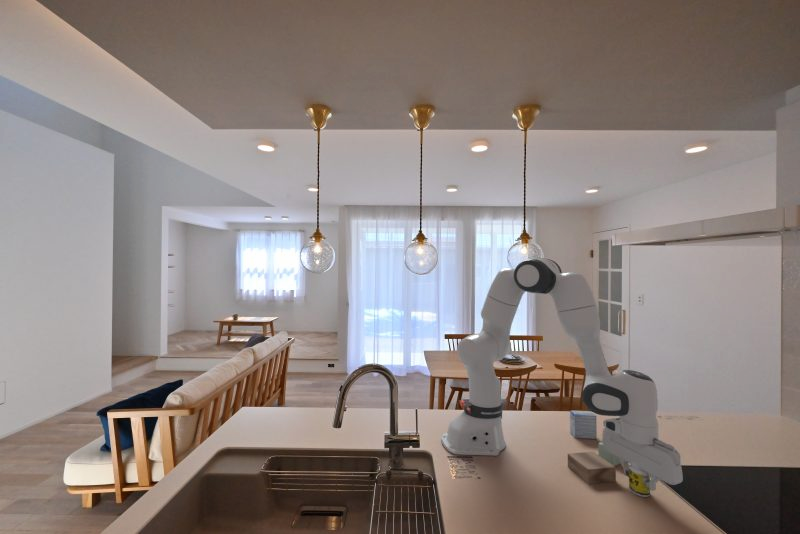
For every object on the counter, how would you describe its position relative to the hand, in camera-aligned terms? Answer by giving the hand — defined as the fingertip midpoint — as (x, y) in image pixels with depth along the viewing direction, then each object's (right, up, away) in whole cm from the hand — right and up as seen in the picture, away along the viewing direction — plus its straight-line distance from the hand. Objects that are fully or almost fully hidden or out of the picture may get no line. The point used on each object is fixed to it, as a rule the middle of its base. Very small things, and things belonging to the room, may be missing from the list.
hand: (639, 482), depth 93 cm
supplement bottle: (0, -3, 0) cm, 3 cm away
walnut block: (-8, -3, +9) cm, 12 cm away
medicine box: (+3, -4, +34) cm, 34 cm away
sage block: (+2, -3, +16) cm, 17 cm away
